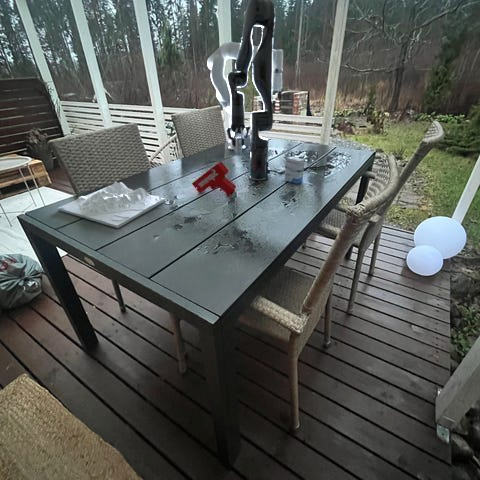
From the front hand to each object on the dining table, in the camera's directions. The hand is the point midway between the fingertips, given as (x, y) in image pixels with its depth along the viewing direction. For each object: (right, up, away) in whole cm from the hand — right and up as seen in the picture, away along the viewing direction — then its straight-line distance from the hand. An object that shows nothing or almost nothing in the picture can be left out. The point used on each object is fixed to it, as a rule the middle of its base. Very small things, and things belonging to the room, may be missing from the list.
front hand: (238, 145), depth 159 cm
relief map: (-55, -40, -39) cm, 78 cm away
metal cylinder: (0, -4, +3) cm, 5 cm away
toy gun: (-11, -33, -28) cm, 44 cm away
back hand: (+26, +46, +36) cm, 64 cm away
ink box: (+29, -24, -15) cm, 41 cm away
